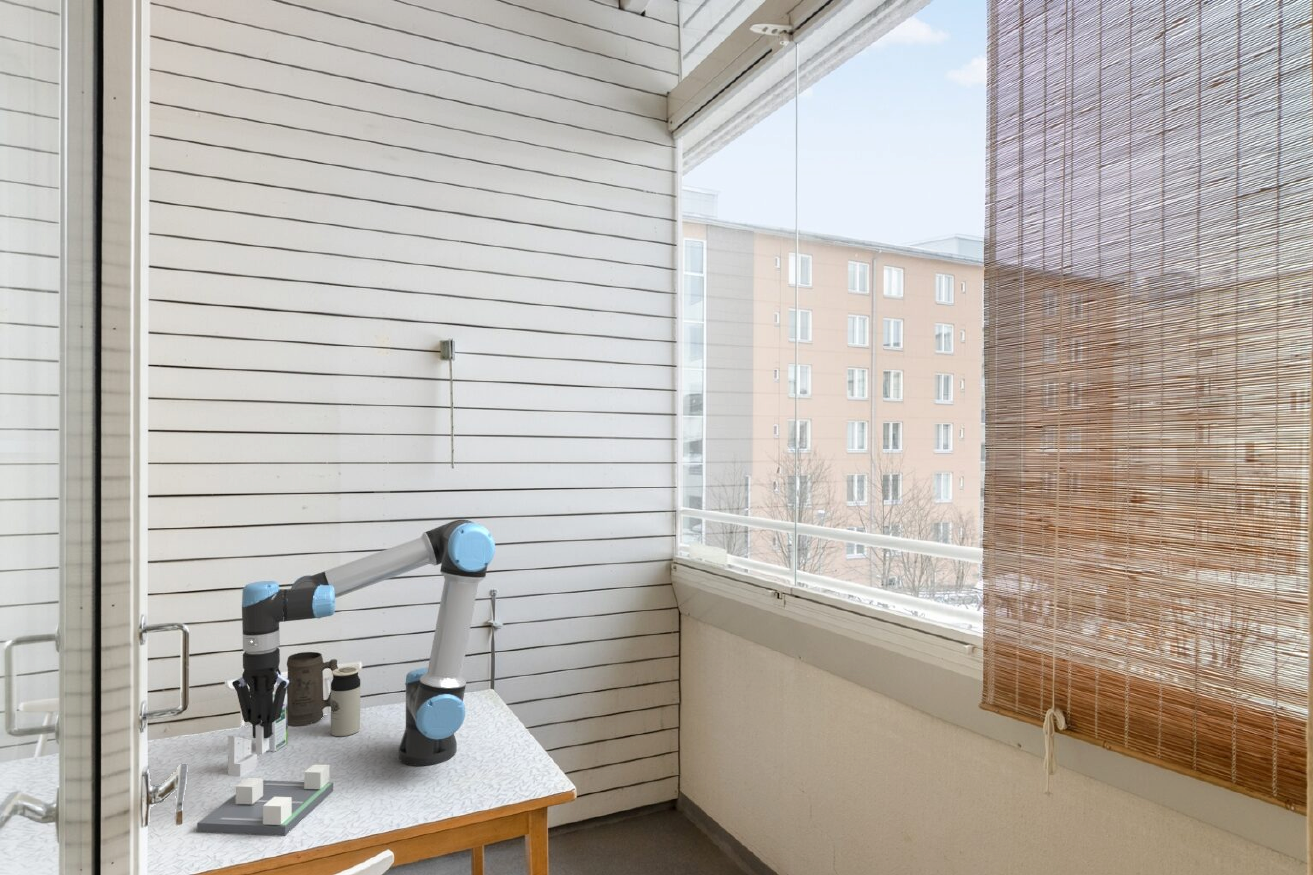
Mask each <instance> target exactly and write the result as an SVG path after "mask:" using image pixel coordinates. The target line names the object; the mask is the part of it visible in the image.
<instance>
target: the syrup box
mask: <svg viewBox="0 0 1313 875" xmlns="http://www.w3.org/2000/svg"><path fill="white" fill-rule="evenodd" d="M275 692H276V691H273V701H274V697H275ZM261 722H262V721H261ZM288 726H289V725H288V719H287V692H286V694H285V699H284V703H283V708H282V712H281V717H280V718H279V719H277V720H276V721H274V722H273V723H272V736H270V737H269V750H267V751H272V753H275V751H276V752H277V751H278V750H280V749H281V748H282V747H284V746H286V745H287V744H288V743H289V739H288V738H289V737H288V736H289V735H288V732H289V730H288V728H289V727H288Z"/></svg>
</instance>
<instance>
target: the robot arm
mask: <svg viewBox="0 0 1313 875" xmlns="http://www.w3.org/2000/svg"><path fill="white" fill-rule="evenodd" d="M495 552H496V542H495V539H494V537H493V536H492V534H491V533H490V531H489V530H488V529H487V528H486V527H485V526H483V525H481V524H480V523H475V522H473V521H471V520H467V519H456V520H452V521H450V522H447V523H445V524H442V525H440V526H437V527H435V528H432V529H430V530H427V531H425V532H423V533H422V534H421V536H420V537H419V538H415V539H412V540H410V541H409V540H408V541H407V542H404V543H401V544H398V545H395V546H392V547H389V548H387V549H384V550H382V551H378V552H375V553H373V554H372V553H371V554H370V555H367V556H364V557H361V558H358V559H356V560H352V561H350V562H347V563H344V564H342V565H338V566H335V567H333V568H330V569H327V570H324V571H321V572H318V573H316V574H313V575H311V574H309V575H303V576H302V575H301V576H299V578H297V579H296V580H295V581H294V582H293V584H292V585H291V587H290V588H285V589H284V588H281V587H280V583H278V582H277V581H274V580H267V581H266V580H262V581H255V582H250V583H248V584H246V585H244V587H243V589H242V591H241V592H242V593H241V623H242V626H241V627H242V650H243V651H244V652H243V653H242V668H243V672H242V676H241V677H240V678H238V679H235V680H234V681H232V682H231V684H232V686H233V688H234V689H235V691H236V694H237V699H238V703H239V707H240V711H241V714H242V719H243V722H244V723H250V724H251V725H252V738H253V739H255V754H257V755H263V754H265V753H267V752H266V751H267V750H269V737H270V736H272V723H273V722H274V721H276V720H277V719H279V718H280V717H281V712H282V708H283V703H284V699H285V694H286V693H287V687H288V685H289V684H290V682H291V679H290V678H288V677H287V678H285V677H284V676H282V672H281V670H280V662H281V657H280V654H281V652H280V651H281V650H280V648H279V647H280V642H281V641H280V623H282V622H284V623H285V622H293V621H302V620H311V619H318V620H319V619H321V618H327V617H332V616H333V615H334V614H335V612H336V598H339V597H342V596H345V595H348V594H350V593H353V592H356V591H358V590H362V589H364V588H367V587H370V586H373V585H375V584H378V583H380V582H382V581H385V580H389V579H391V578H395V577H396V576H400V575H403V574H405V573H408V572H411V571H414V570H416V569H419V568H421V567H425V566H427V565H432V566H435V567H436V566H438V565H440V570H439V572H440V574H441V576H442V577H443V578H444V581H443V582H444V583H443V587H442V591H441V596H440V597H441V598H440V603H439V609H438V614H437V619H436V624H435V629H434V637H433V640H432V645H431V649H430V650H431V651H430V656H429V662H428V665H427V667H422V668H417V669H413V670H411V671H409V672H408V673H406V675H405V676H406V677H405V683H404V685H405V729H404V731H403V735H402V737H401V741H400V743H399V746H398V760H399V761H400V762H401V763H403V764H405V765H409V766H419V767H420V766H421V767H422V766H431V765H436V764H440V763H443V762H446V761H448V760H450V759H451V758H452V757H454V756H455V755H456V753H457V747H458V746H457V739H456V736H455V733H456V732H458V731H459V729H460V728H461V726H462V725H463V723H464V721H465V717H466V706H465V704H464V697H465V691H466V687H467V686H466V685H467V681H466V679H465V677H463V669H464V668H463V667H464V664H465V658H466V653H467V647H468V643H469V642H468V641H469V636H470V631H471V625H472V620H473V613H474V609H475V604H476V598H477V593H478V587H479V584H480V582H482V581H483V580H484V579H485V578H486V577H487V576H486V574H487V572H488V571H487V569H488V566H489V564H490V563H491V562H492V560H493V559H494V556H495ZM275 685H276V689H275ZM274 690H275V691H274ZM273 692H275V697H274V701H273ZM261 721H262V722H261Z"/></svg>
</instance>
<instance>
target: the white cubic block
mask: <svg viewBox="0 0 1313 875" xmlns="http://www.w3.org/2000/svg"><path fill="white" fill-rule="evenodd" d="M263 780H264V778H253V777H252V778H249V777H246V778H245V779H244V780H242V781H241V782H239V783H238V784H237V785H235V794H236V804H253V803H255V802H256V801H257V800H258V799H260V798H261V797H262V796H263Z"/></svg>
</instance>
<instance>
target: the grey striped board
mask: <svg viewBox="0 0 1313 875" xmlns="http://www.w3.org/2000/svg"><path fill="white" fill-rule="evenodd" d="M333 792H334V782H328V783H327V784H326V785H325V786H324V787H323V788H321V789H304V781H293V780H290V781H289V780H267V779H266V780H264V779H263V796H262V797H261V798H260V799H258V800H257V801H256V802H255V803H253V804H236V793H235V794H233V796H231V797H230V798H229V799H227V800H226V801H225V802H223V803H221V804H220V805H219V806H218V807H217V808H215V809H214V810H212V811H211V812H210V813H208V814H207V815H206V816H205V817H203V818H202V819H201V820H199V821H198V822H197V823H196V832H197V833H206V834H208V833H210V834H211V833H212V834H234V835H252V836H253V835H256V836H257V835H258V836H279V837H280V836H281V837H282V836H284V837H285V836H287V835H288V834H289V833H290V832H291V831H292V830H293V829H294V828H295V827H296V826H298V825H299V822H300V821H301V820H302V819H303V820H304V819H305V818H306V817H308V815H309V814H310V813H312V812H313V811H314V810H315V809H316V807H318V806H319V805H321V803H323V801H324V800H325V799H327V797H328V796H330V795H331V794H332V793H333ZM273 797H292V815H291V816H290V817H289V818H288V819H287V820H286V821H285V822H284V823H282V824H281V825H270V824H263V805H265V804H266V803H267V802H268V801H270V800H271V799H272V798H273ZM303 820H302V821H303ZM302 821H301V822H302ZM301 822H300V823H301ZM289 831H290V832H289Z"/></svg>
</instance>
